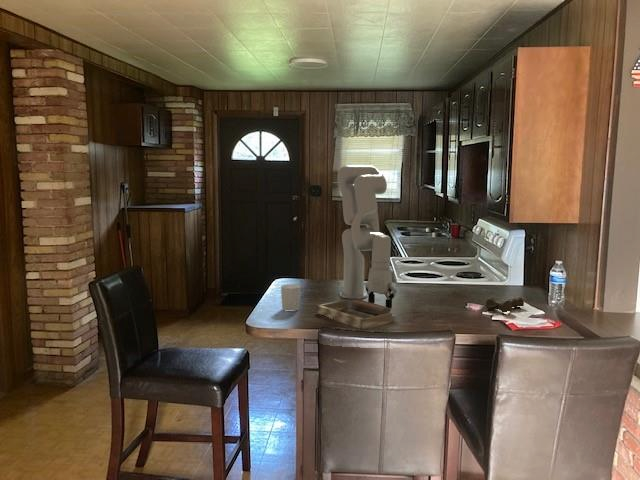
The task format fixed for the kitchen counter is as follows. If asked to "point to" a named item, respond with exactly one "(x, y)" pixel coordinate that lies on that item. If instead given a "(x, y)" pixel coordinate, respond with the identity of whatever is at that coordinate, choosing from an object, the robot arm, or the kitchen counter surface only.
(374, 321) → the wooden frame
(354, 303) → the packaged product
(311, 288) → the kitchen counter surface
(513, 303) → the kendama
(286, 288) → the white cup
